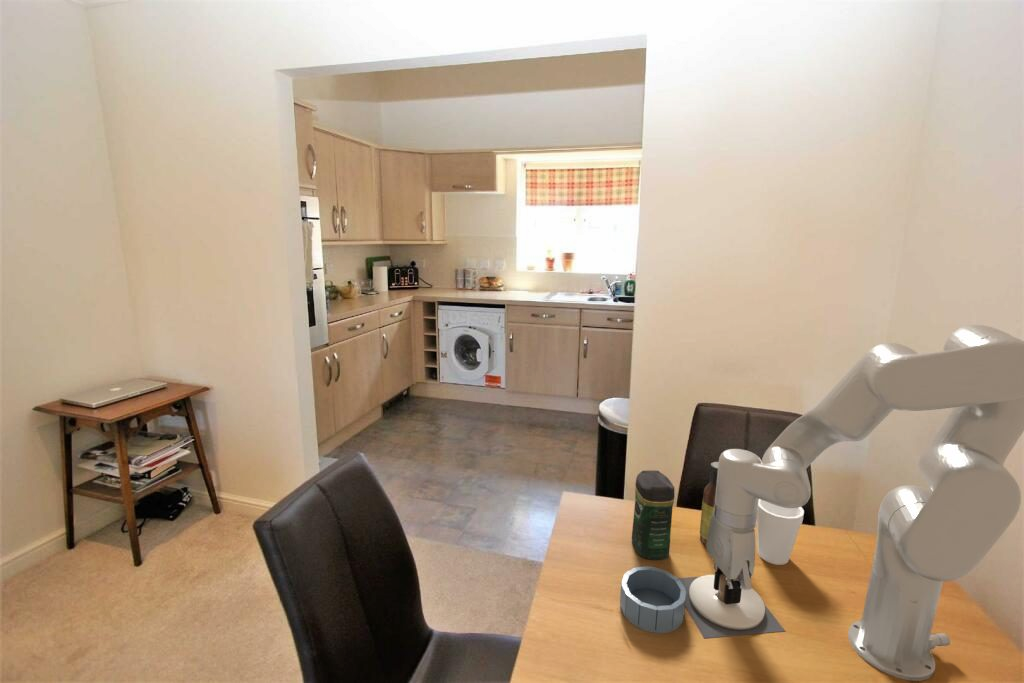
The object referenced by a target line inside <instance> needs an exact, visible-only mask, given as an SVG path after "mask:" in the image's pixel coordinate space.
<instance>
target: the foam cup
mask: <svg viewBox="0 0 1024 683" xmlns="http://www.w3.org/2000/svg"><path fill="white" fill-rule="evenodd" d="M804 514H805V510H804V508H803V506H801V507H798V508H784V507H780V506H777V505H774V504H771V503H769V502H766V501H763V500H761V499H759V501H758V511H757V520H756V541H757V542H756V545H757V546H756V547H757V548H756V550H757V554H758V555H759V557H760V558H761V559H762V560H763V561H765V562H767V563H769V564H772V565H776V566H779V565H781V566H783V565H785V564H788V562H789V561H790V557H791V555H792V552H793V548H794V546H795V544H796V543H795V542H796V541H797V540H796V539H797V536H798V533H799V530H800V528H801V526H802V525H803V520H804Z"/></svg>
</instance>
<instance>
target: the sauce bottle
mask: <svg viewBox="0 0 1024 683" xmlns="http://www.w3.org/2000/svg"><path fill="white" fill-rule="evenodd" d="M718 463H719V461H714V462H711V463H710V477H709V483H707V485H706V486H705V487H704V490H703V497H702V503H701V504H702V505H701V513H700V514H701V515H700V527H699V534H700V535H699V539H700V541H701V542H702V544H704V545H705V546H706V544H707V536H708V530H709V524H710V520H711V516H712V513H713V511H714V506H715V495H716V485H717V474H718Z"/></svg>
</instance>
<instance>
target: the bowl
mask: <svg viewBox="0 0 1024 683" xmlns="http://www.w3.org/2000/svg"><path fill="white" fill-rule="evenodd" d="M678 578H679V577H677V576H675V575H674V574H672V573H671V572H669V571H668V570H666V569H662V568H658V567H654V566H651V565H647V566H645V565H644V566H636V567H632V568H631V569H630V570H628V571H626V572H624V574H623V577H622V580H621V583H620V594H619V604H620V608H621V613H623V615H624V618H626V619H627V621H628V622H629V623H630V624H632V625H633V626H635V627H636V628H638V629H640V630H643V631H646V632H648V633H654V634H667V633H671V632H674V631H676V630H677V629H679V627H680V626H681V625H682V624H683V622H684V614H685V608H686V607H685V599H686V589H685V587H684V586H683V584H682V583H681V581H680V579H678Z"/></svg>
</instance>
